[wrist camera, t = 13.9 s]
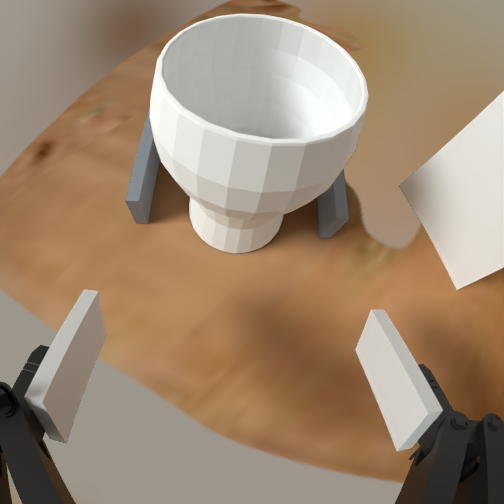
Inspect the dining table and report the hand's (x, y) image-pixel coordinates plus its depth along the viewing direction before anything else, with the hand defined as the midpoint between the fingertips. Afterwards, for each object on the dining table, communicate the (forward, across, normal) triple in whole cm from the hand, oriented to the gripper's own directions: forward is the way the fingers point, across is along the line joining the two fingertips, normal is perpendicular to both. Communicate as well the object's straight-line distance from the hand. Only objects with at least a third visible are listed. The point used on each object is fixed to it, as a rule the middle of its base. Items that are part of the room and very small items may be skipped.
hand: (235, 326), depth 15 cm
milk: (+15, +24, +2) cm, 29 cm away
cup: (+14, 0, +1) cm, 14 cm away
